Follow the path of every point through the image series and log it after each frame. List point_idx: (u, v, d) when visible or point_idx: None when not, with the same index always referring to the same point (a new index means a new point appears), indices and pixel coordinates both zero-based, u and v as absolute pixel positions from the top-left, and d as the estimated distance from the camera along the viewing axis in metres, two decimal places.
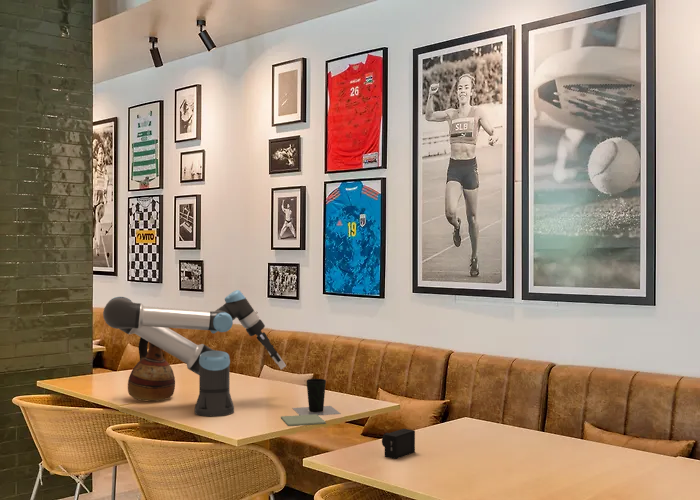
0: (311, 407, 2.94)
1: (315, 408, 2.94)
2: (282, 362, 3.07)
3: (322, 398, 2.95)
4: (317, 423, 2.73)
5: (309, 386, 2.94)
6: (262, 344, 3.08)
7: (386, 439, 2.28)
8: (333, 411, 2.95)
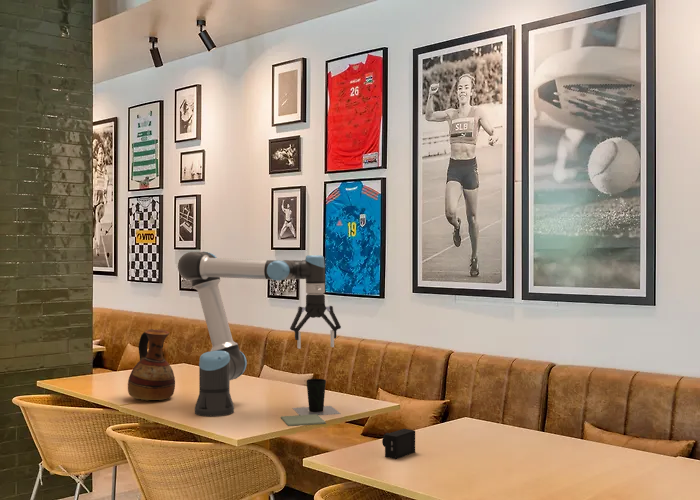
0: (311, 407, 2.94)
1: (315, 408, 2.94)
2: (298, 343, 2.94)
3: (322, 398, 2.95)
4: (317, 423, 2.73)
5: (309, 386, 2.94)
6: (305, 316, 2.98)
7: (386, 439, 2.28)
8: (333, 411, 2.95)
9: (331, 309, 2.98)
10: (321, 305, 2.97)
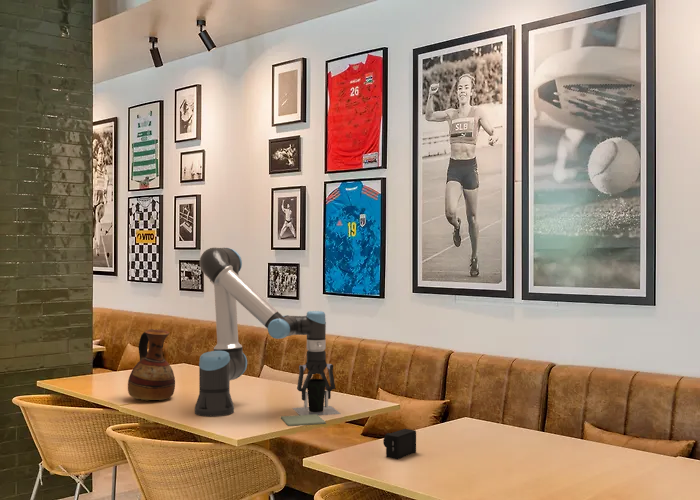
0: (311, 407, 2.94)
1: (315, 408, 2.94)
2: (305, 403, 2.95)
3: (322, 398, 2.95)
4: (317, 423, 2.73)
5: (309, 386, 2.94)
6: None
7: (388, 439, 2.28)
8: (333, 411, 2.95)
9: (331, 368, 2.97)
10: (322, 361, 2.96)
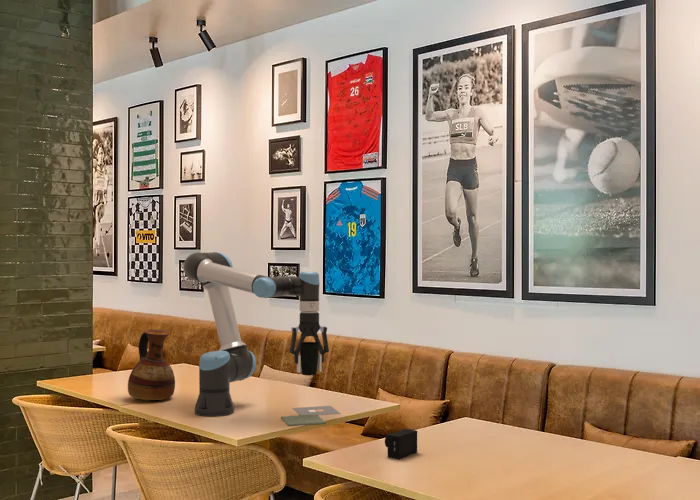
0: (304, 370, 2.85)
1: (308, 371, 2.84)
2: (298, 366, 2.85)
3: (315, 361, 2.86)
4: (317, 423, 2.73)
5: (302, 349, 2.85)
6: (300, 336, 2.88)
7: (389, 439, 2.28)
8: (333, 411, 2.95)
9: (325, 330, 2.88)
10: (315, 323, 2.87)
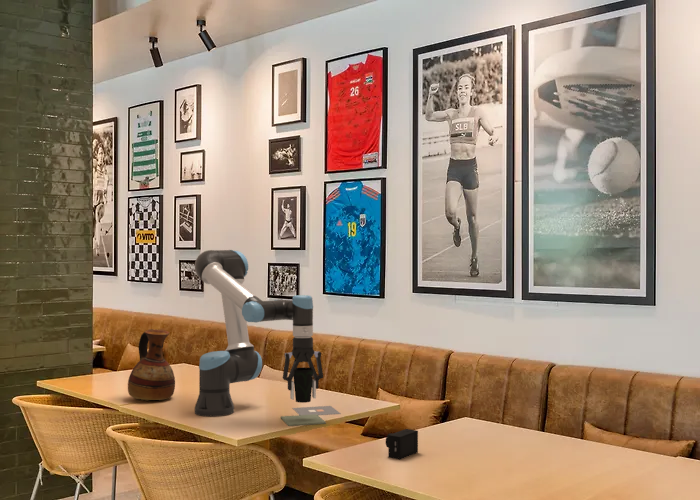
0: (298, 397, 2.76)
1: (302, 398, 2.76)
2: (291, 393, 2.77)
3: (309, 388, 2.77)
4: (317, 423, 2.73)
5: (295, 375, 2.76)
6: (294, 362, 2.80)
7: (390, 440, 2.28)
8: (333, 411, 2.95)
9: (319, 355, 2.79)
10: (309, 349, 2.78)
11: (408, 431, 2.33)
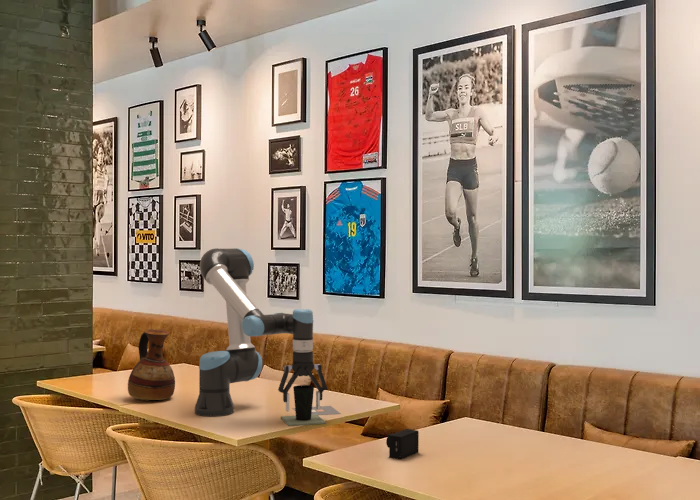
0: (298, 415, 2.77)
1: (302, 416, 2.76)
2: (287, 405, 2.76)
3: (310, 406, 2.77)
4: (317, 423, 2.73)
5: (296, 393, 2.76)
6: (292, 375, 2.79)
7: (391, 440, 2.28)
8: (333, 411, 2.95)
9: (319, 368, 2.79)
10: (309, 363, 2.78)
11: (409, 431, 2.33)
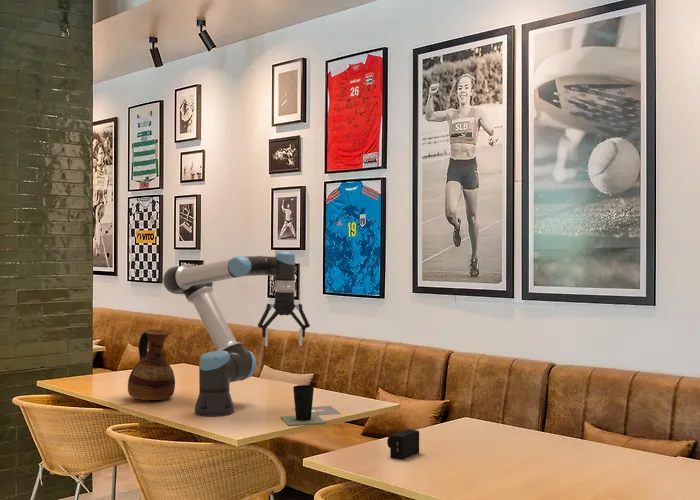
0: (298, 415, 2.77)
1: (302, 416, 2.76)
2: (265, 340, 2.90)
3: (310, 406, 2.77)
4: (317, 423, 2.73)
5: (296, 393, 2.76)
6: (273, 313, 2.93)
7: (392, 440, 2.28)
8: (333, 411, 2.95)
9: (300, 307, 2.93)
10: (290, 303, 2.92)
11: (409, 431, 2.33)
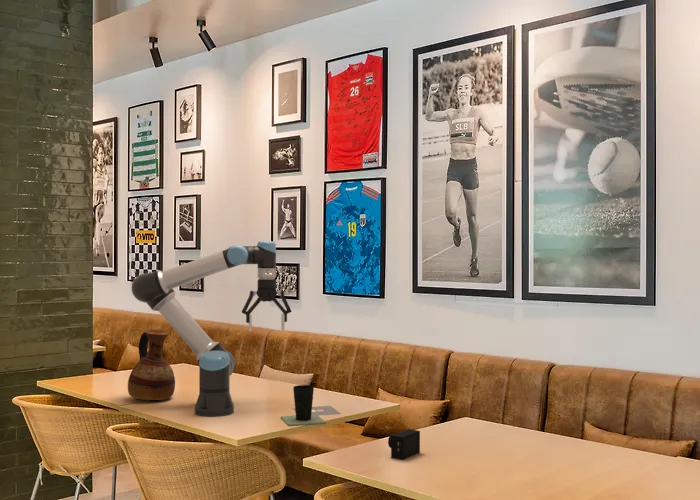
0: (298, 415, 2.77)
1: (302, 416, 2.76)
2: (249, 326, 3.05)
3: (310, 406, 2.77)
4: (317, 423, 2.73)
5: (296, 393, 2.76)
6: (256, 300, 3.08)
7: (393, 440, 2.27)
8: (333, 411, 2.95)
9: (282, 293, 3.08)
10: (272, 289, 3.07)
11: (410, 431, 2.32)
